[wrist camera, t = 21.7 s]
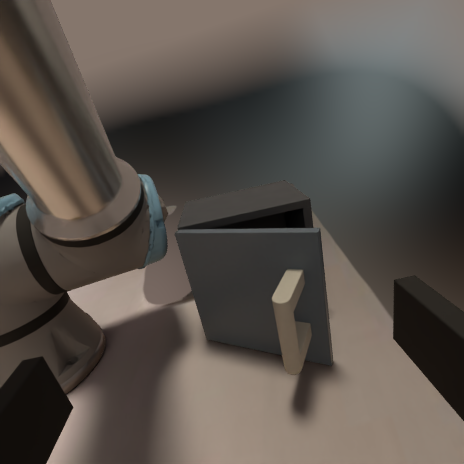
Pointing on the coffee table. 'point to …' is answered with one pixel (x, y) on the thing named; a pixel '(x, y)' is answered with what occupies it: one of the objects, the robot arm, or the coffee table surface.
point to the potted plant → (163, 209)
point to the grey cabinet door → (261, 290)
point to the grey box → (250, 209)
